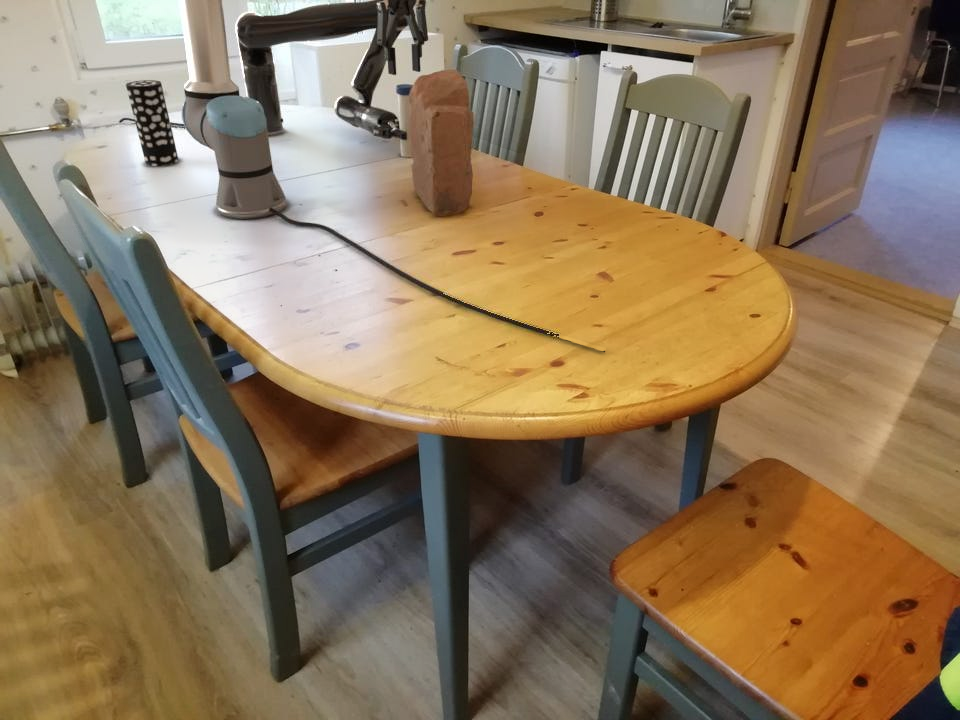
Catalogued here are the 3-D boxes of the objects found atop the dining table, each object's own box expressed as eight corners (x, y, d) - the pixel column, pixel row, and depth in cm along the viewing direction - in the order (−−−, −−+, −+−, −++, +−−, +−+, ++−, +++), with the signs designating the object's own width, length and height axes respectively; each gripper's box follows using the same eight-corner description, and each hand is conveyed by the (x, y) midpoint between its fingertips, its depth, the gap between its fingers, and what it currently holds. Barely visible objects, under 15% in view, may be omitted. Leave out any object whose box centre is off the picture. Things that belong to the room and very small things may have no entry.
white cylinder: (400, 153, 196) (397, 86, 186) (414, 152, 197) (412, 85, 187) (401, 157, 193) (398, 89, 183) (416, 156, 193) (413, 89, 183)
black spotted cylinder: (184, 157, 190) (167, 80, 179) (169, 166, 183) (151, 87, 172) (155, 156, 190) (136, 79, 179) (139, 165, 183) (119, 86, 172)
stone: (482, 213, 155) (482, 80, 141) (434, 219, 152) (429, 83, 138) (455, 187, 173) (452, 67, 159) (411, 191, 170) (404, 69, 156)
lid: (395, 91, 187) (395, 84, 186) (413, 91, 188) (413, 83, 187) (397, 95, 183) (396, 88, 182) (415, 94, 184) (415, 87, 183)
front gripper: (373, -24, 163) (380, 79, 175) (441, -27, 173) (443, 70, 186) (357, -26, 168) (364, 74, 180) (424, -29, 178) (427, 66, 191)
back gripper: (357, 112, 195) (390, 124, 184) (399, 105, 202) (433, 117, 191) (359, 139, 199) (391, 153, 188) (401, 131, 206) (434, 144, 195)
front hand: (404, 72), depth 183 cm, fingers open, 7 cm apart
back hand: (412, 134), depth 189 cm, fingers closed on white cylinder, 4 cm apart
